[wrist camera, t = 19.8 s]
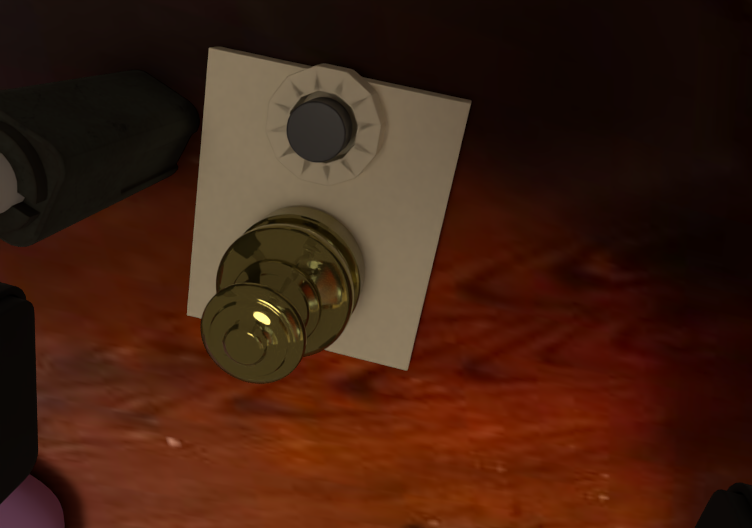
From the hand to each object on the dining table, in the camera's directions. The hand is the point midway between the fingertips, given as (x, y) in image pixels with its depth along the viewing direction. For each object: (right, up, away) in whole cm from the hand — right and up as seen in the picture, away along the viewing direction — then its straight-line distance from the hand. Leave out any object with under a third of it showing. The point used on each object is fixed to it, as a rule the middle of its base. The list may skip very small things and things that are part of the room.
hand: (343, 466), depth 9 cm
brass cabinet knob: (-4, +3, +29) cm, 30 cm away
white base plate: (-3, +6, +29) cm, 30 cm away
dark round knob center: (-2, +10, +25) cm, 27 cm away
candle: (-13, +11, +29) cm, 34 cm away
